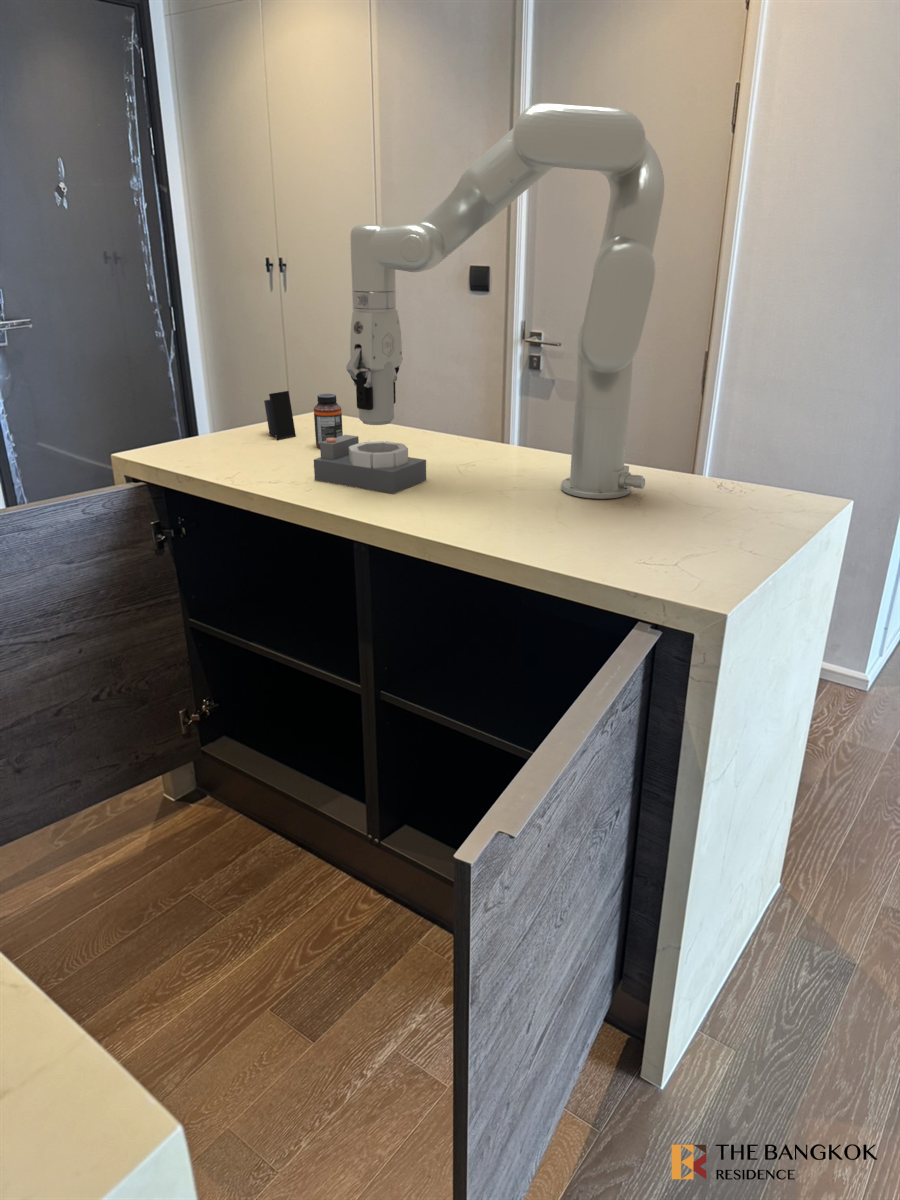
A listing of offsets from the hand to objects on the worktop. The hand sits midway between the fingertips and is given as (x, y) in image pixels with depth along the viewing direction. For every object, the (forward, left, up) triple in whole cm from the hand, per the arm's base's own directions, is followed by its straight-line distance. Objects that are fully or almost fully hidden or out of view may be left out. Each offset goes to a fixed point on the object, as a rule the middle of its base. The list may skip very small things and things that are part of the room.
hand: (376, 405), depth 157 cm
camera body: (+2, 0, -14) cm, 14 cm away
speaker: (+43, -21, -15) cm, 50 cm away
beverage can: (0, 0, -3) cm, 3 cm away
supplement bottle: (+26, -18, -15) cm, 35 cm away
